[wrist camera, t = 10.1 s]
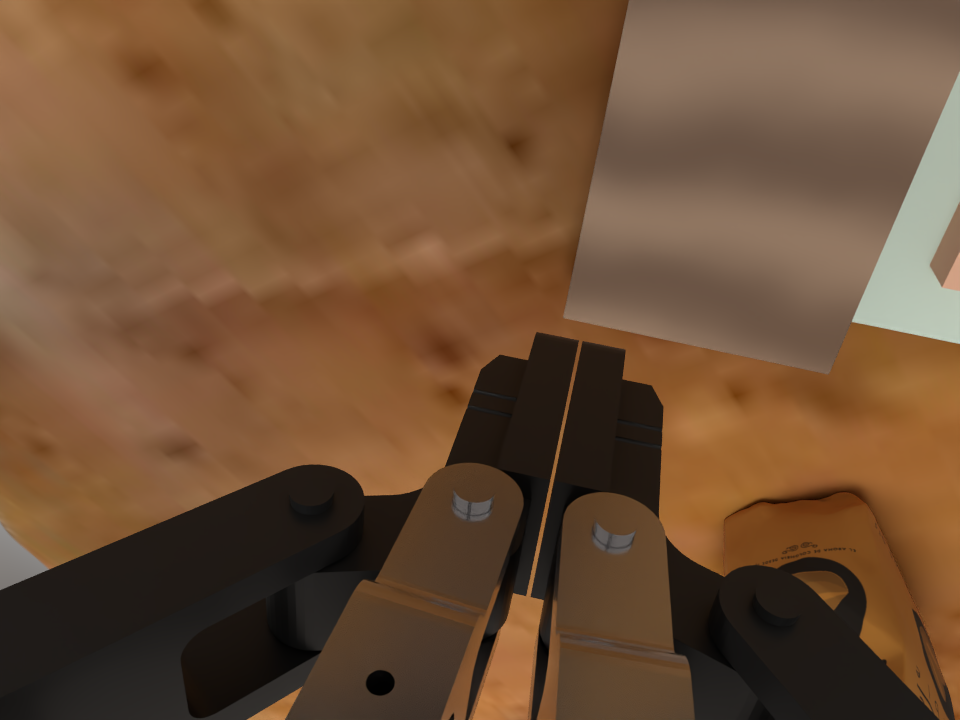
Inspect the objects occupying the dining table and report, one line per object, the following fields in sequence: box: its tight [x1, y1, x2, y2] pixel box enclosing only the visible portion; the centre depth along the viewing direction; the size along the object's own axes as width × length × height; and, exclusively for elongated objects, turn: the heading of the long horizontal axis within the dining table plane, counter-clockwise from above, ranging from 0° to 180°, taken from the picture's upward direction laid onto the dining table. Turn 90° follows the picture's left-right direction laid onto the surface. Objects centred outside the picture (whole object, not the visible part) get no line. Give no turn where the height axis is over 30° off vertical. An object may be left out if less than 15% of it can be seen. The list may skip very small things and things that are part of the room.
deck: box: [563, 0, 960, 374], centre depth 34 cm, size 18×12×4 cm, turn 173°
